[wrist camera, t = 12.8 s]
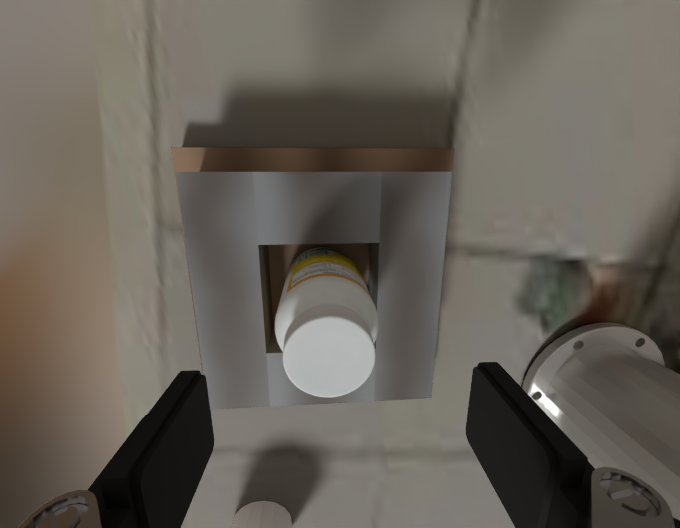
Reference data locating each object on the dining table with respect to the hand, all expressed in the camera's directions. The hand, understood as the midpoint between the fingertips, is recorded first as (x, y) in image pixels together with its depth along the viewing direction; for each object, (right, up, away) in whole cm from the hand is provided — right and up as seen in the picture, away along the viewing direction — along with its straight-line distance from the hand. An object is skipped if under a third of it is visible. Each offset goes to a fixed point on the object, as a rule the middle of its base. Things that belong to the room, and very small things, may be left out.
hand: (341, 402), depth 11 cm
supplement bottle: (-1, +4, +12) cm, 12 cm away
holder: (-2, +4, +13) cm, 14 cm away
